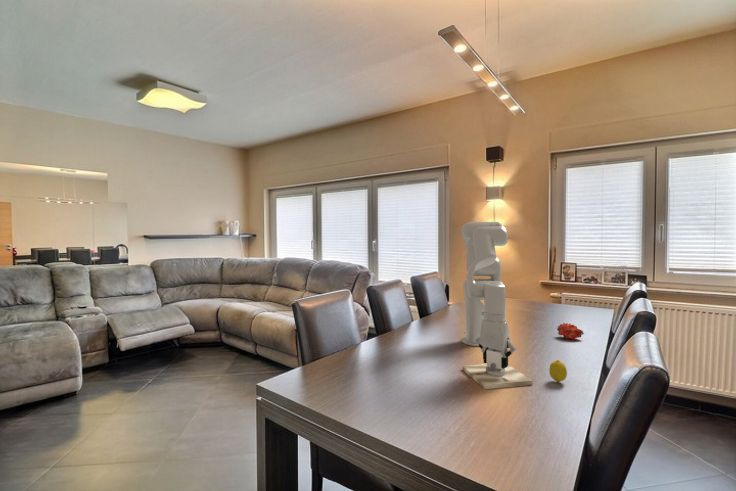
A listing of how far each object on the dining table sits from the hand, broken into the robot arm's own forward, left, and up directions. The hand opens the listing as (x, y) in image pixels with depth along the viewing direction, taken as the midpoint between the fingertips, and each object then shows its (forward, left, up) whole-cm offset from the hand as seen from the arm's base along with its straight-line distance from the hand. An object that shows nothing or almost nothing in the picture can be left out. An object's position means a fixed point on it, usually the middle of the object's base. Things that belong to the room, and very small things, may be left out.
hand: (495, 364), depth 130 cm
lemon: (+9, +19, -5) cm, 22 cm away
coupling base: (0, 0, -5) cm, 5 cm away
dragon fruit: (-36, +61, -5) cm, 71 cm away
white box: (+1, -1, 0) cm, 1 cm away
